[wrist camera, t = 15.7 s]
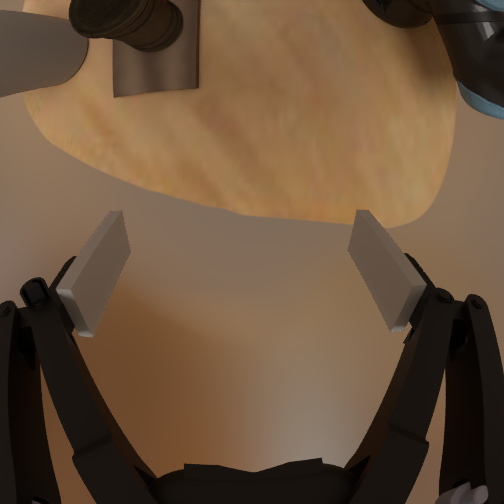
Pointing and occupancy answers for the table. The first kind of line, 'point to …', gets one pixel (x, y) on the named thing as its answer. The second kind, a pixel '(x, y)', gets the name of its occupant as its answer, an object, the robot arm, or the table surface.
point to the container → (128, 21)
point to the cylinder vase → (37, 51)
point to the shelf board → (160, 60)
